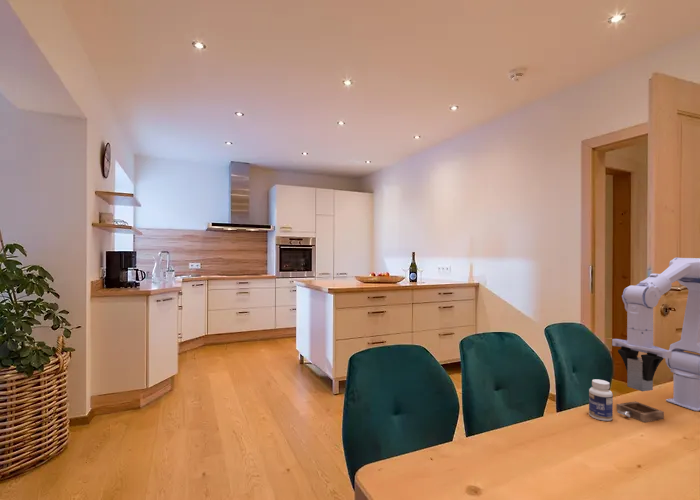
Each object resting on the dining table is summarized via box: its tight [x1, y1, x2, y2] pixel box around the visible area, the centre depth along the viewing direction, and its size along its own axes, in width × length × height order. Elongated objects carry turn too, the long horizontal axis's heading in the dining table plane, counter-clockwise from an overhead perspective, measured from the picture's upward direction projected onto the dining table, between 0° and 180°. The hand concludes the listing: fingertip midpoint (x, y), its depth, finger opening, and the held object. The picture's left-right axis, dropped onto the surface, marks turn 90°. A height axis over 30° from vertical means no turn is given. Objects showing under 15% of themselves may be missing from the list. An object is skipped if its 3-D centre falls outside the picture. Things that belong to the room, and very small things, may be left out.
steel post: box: [626, 356, 654, 392], centre depth 103 cm, size 4×4×8 cm
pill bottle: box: [588, 378, 614, 422], centre depth 101 cm, size 5×5×10 cm
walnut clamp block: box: [616, 400, 665, 423], centre depth 103 cm, size 10×7×2 cm
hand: (639, 377), depth 103 cm, fingers closed on steel post, 4 cm apart
